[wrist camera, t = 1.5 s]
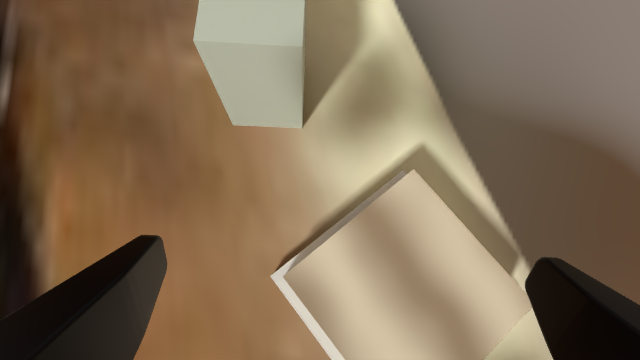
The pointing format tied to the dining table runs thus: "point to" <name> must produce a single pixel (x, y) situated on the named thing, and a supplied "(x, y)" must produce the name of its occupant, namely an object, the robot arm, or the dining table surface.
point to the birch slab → (408, 283)
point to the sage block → (255, 58)
